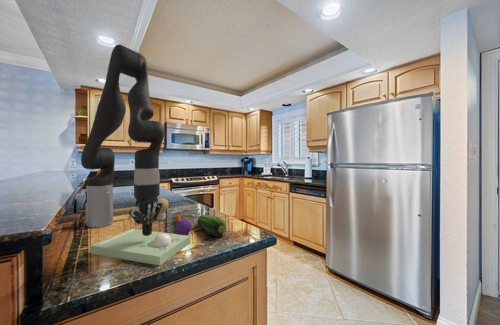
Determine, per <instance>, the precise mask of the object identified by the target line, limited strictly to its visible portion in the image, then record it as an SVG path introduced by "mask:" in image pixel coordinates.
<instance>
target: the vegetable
mask: <svg viewBox="0 0 500 325" xmlns="http://www.w3.org/2000/svg"><path fill="white" fill-rule="evenodd" d="M196 223H197V225H198V226H199V227H200V228H202V229H203V230H204V231H205V232H206V233H207V234H209V235H211V236H212V237H220V236H223V234H224V233H225V232H226V230H227V223H226V221H225V220H224V219H223V218H221V217H219V216H215V215H209V214H203V215H199V217H198V218H197V222H196Z"/></svg>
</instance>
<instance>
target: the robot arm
mask: <svg viewBox="0 0 500 325" xmlns="http://www.w3.org/2000/svg"><path fill="white" fill-rule="evenodd" d="M148 72H149V70H148V63H147V59H146V58H145V56H144V55H142V53H140V52H138V51H135V50H134V49H131V48H129V47H127V46H124V45H123V44H116V45H115V46H114V47H113V49H112V52H111V54H110V58H109V63H108V68H107V73H106V77H105V82H104V85H103V90H102V92H101V95H100V99H99V102H98V104H97V107H96V111H95V115H94V120H93V123H92V127H91V128H90V129H91V130H90V132H89V135H88V138H87V139H86V142H85V145H84V146H83V149H82V152H81V157H80V164H81V167H82V168H83V169H85V170H99V172H98V173H97V174H96V175H93V176H91V177H88V178H87V179H86V202H85V206H84V208H85V209H84V210H85V211H84V212H85V214H84V216H85V226H87V227H88V228H90V229H91V228H102V227H106V226H108V227H109V226H110V225H112V224H113V223H114V193H113V192H114V191H113V190H114V188H113V187H114V183H113V182H114V177H115V164H116V163H115V162H116V161H115V160H116V158H115V153H114V150H113V149H112V148H110V147H101V146H102V144H103V143H104V142H105V140H106V139H107V138H109V137H110V136H111V135H112V134H114V133H115V132H116V131H118V129H119V128H120V127H121V125H122V123H123V122H124V118H125V116H126V112H127V109H126V108H127V106H126V104H125V103H126V102H125V100H124V97H123V94H122V92H121V88H120V77H121V76H120V75H121V74H123V75H124V76H128V77H131V78H134V79H135V81H136V82H135V84H134V85H133V86H131V88H130V89H129V91H128V94H127V103H128V108H129V114H130V117H129V122H128V128H127V135H128V137H129V138H130V139H131V140H132V141H133V142H137V143H139V142H140V143H150V144H149V146H148V148H143V149H138V150H136V151H135V152H134V174H133V197H134V198H135V204H134V206H135V207H134V208H133V209H132V210H129V212H128V214H129V216H130V217H131V218H132V219H133V221H134V222H135V223H136V225H141V227H142V228H141V230H142V234H143V235H144V236H149V235H151V234H152V231H153V223H154V221H155V220H158V219H157V217H158V215H159V212H160V210H161V208H162V205H163V204H162V203H159V202H158V199H159V198H158V197H159V196H160V193H161V192H160V188H161V187H160V183H161V182H160V178H161V175H160V166H159V165H160V161H159V160H160V158H159V157H160V152H161V147H162V144H163V141H164V138H165V135H166V134H165V132H166V131H165V127H164V125H163V124H162V122H160V121H157V120H151V119H153V117H154V115H155V113H154V112H155V111H154V108H153V104H152V100H151V96H150V91H149V90H150V89H149V73H148Z"/></svg>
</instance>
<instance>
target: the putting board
mask: <svg viewBox="0 0 500 325" xmlns="http://www.w3.org/2000/svg"><path fill="white" fill-rule="evenodd" d="M162 233H163V232H160V231H153V230H152V234H151V235H149V236H144V235H143V234H142V229H136V228H130V229H127V230H124V231H122V232H120V233H117V234H114V235H113V236H109V237H108V238H105V239H103V240H101V241H97V242H95V243H93V244H91V245H89V246H90V247H89V248H90V249H89V254H90V253H91V255H98V256H101V257H102V256H103V257H109V258H113V259H120V260H126V261H132V262H138V263H141V264H142V263H143V264H148V265H155V266H161V265H163V264H164V263H165V262H167V261H168V260H170V259H171V258H172V257H173V256H175V255H176V254H177V253H179V252H180V251H181V250H183V249H184V248H185V247H187V246H188V245H190V244H191V235H187V234H186V235H179V234H178V233H177V234H176V233H171V232H170V233H169V232H165V233H166V234H168V235H169V236H170V237H171V240H172V243H171V244H169V245H168V246H166V247H163V248H154V246H153V241H154V239H155V237H156V236H157V235H159V234H162Z"/></svg>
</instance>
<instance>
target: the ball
mask: <svg viewBox="0 0 500 325" xmlns="http://www.w3.org/2000/svg"><path fill="white" fill-rule="evenodd" d="M166 233H167V232H162V234H159V235H157V236H156V237H155V239H154V241H153V246H154V248H163V247H166V246H168V245H169V244H171V243H172V240H171V237H170V236H169V235H168V234H166Z"/></svg>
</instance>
